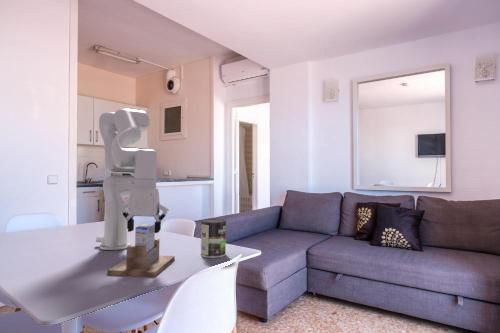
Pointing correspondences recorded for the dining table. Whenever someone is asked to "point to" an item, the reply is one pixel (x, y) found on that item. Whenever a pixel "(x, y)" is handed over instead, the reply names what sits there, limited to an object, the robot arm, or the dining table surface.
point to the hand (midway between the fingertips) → (143, 231)
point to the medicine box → (145, 236)
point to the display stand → (142, 262)
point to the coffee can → (213, 238)
